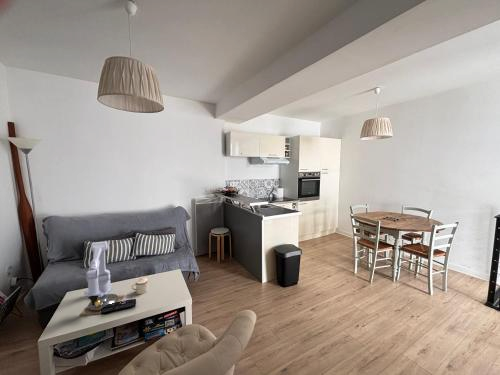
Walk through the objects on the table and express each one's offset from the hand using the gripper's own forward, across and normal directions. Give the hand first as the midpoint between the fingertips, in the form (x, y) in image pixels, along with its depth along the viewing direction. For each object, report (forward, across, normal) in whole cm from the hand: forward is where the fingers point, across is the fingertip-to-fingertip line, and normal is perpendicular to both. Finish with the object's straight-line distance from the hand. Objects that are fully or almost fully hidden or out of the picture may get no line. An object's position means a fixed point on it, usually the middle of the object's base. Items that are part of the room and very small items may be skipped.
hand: (94, 304), depth 145 cm
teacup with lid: (+5, +14, +28) cm, 32 cm away
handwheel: (+4, 0, +7) cm, 8 cm away
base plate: (+5, 0, +7) cm, 8 cm away
